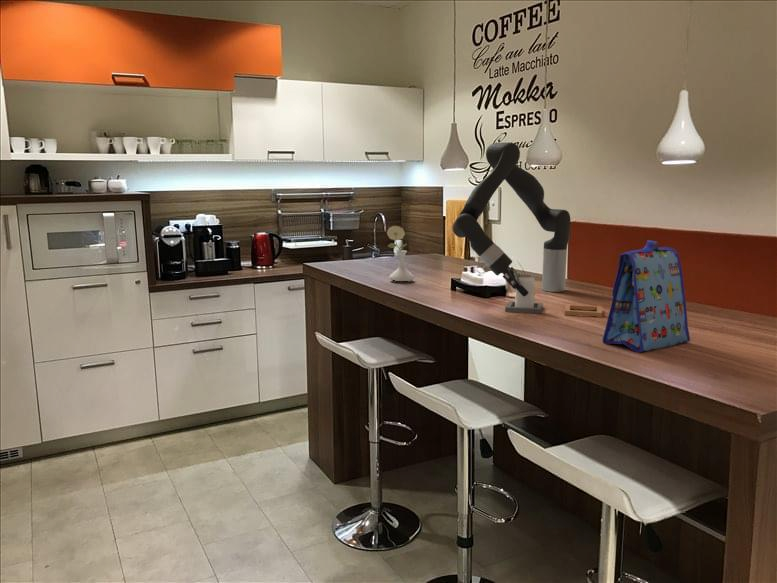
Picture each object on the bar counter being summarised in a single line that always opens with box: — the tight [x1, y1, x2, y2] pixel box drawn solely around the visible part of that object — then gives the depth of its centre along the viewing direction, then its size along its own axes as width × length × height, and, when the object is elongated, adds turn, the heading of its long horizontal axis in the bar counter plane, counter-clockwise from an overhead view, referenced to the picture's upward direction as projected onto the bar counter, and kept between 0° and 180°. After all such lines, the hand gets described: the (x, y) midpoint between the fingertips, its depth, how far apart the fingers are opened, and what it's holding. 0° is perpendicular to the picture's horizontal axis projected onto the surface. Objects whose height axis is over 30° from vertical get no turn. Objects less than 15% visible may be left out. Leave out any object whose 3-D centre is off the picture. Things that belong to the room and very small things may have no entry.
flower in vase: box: [386, 225, 415, 282], centre depth 288 cm, size 13×11×25 cm
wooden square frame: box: [564, 303, 603, 318], centre depth 223 cm, size 12×12×2 cm
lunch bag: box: [602, 239, 691, 353], centre depth 179 cm, size 22×14×29 cm, turn 123°
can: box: [514, 274, 536, 308], centre depth 228 cm, size 6×6×12 cm
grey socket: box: [504, 300, 544, 314], centre depth 229 cm, size 12×12×2 cm
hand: (527, 292), depth 227 cm, fingers open, 8 cm apart
